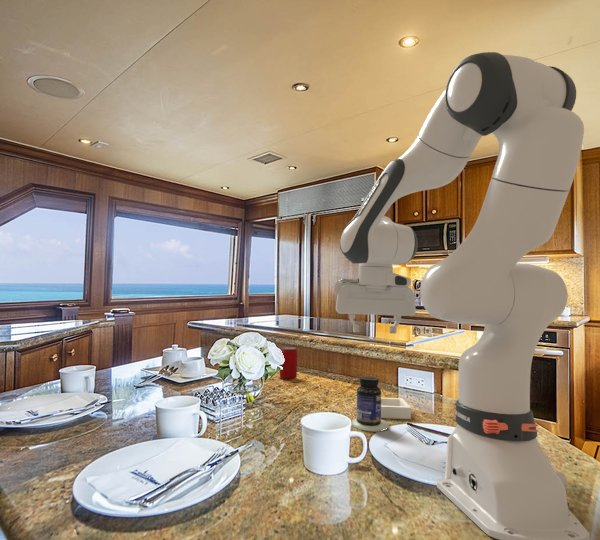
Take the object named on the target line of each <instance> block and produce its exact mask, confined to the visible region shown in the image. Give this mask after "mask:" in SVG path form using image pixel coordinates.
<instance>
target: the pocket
mask: <svg viewBox="0 0 600 540" xmlns="http://www.w3.org/2000/svg"><path fill="white" fill-rule="evenodd" d="M381 419H399V420H400V419H402V420H412V407H411V406H410V405H409V404H408V403H407V401H406V400H405V399H404V398H402V397H382V396H381Z"/></svg>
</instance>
